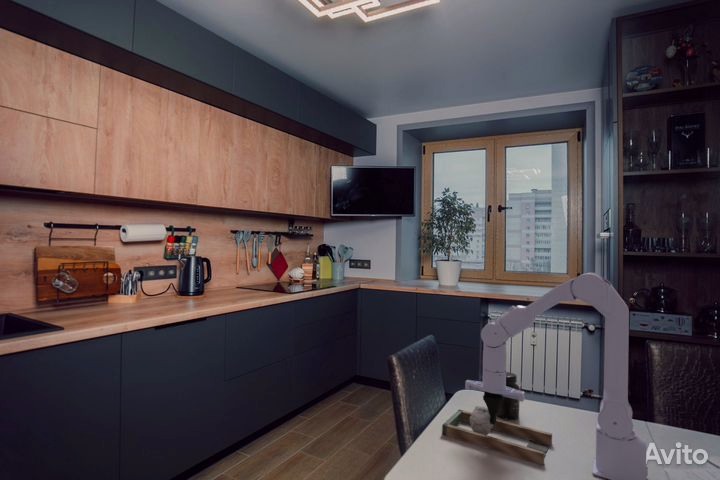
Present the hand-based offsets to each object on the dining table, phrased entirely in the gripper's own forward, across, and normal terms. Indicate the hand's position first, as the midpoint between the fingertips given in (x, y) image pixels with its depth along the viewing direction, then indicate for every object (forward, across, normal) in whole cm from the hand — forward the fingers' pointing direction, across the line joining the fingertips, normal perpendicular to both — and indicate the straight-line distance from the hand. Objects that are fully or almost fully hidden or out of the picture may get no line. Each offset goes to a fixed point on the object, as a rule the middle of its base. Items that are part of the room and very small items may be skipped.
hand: (493, 422), depth 102 cm
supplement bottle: (+4, +1, -17) cm, 18 cm away
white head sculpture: (+4, +3, 0) cm, 5 cm away
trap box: (+4, -1, 0) cm, 4 cm away
